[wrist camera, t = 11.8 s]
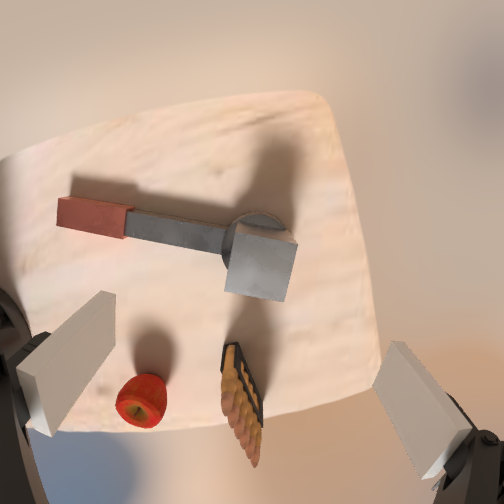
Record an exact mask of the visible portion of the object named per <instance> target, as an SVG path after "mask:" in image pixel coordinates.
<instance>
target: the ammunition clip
mask: <svg viewBox="0 0 504 504" xmlns="http://www.w3.org/2000/svg"><path fill="white" fill-rule="evenodd" d="M220 371H221V373H222V381H221V391H222V393H221V408H222V412H223V414H224V416H228V422H229V425H230V427H231V428H234V433H235V436H236V438H237V439H239V441H240V444H241V447H242V449H244V450H245V452H246V455H247V457H248V459H250V460H251V464H252V466H253V467H254V468H255V467H256V466H257V465H258V462H259V457H260V444H261V428H263V402H262V400H261V398H260V395H259V393H258V391H257V388H256V386H255V383H254V381H253V378H252V376H251V373H250V371H249V369H248V366H247V364H246V361H245V359H244V356H243V354H242V351H241V349H240V346H239V344H238V342H234V343H231V344H227V345H224V346H223V353H222V361H221V368H220Z"/></svg>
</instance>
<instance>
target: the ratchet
mask: <svg viewBox="0 0 504 504" xmlns="http://www.w3.org/2000/svg"><path fill="white" fill-rule="evenodd" d="M238 221H242V222H247V223H252V224H257V225H262V226H267V227H272V228H277V229H282V230H286V229H285V227H284V225H283V224H282V223H281V222H280V221H279V220H278V219H277V218H276V217H274V216H272V215H270V214H268V213H265V212H249V213H245V214H243V215H241V216H239V217H238V218H236V219H235V220H234V221H233V222H232V223H231V224H230V226H224V225H218V224H213V223H208V222H202V221H197V220H191V219H186V218H180V217H175V216H169V215H164V214H158V213H152V212H147V211H141V210H135V207H133V206H128V205H122V204H116V203H110V202H104V201H97V200H91V199H85V198H79V197H72V196H68V197H62V198H58V209H57V224H56V226H60V227H65V228H70V229H75V230H80V231H84V232H89V233H94V234H99V235H104V236H109V237H114V238H119V239H124V238H126V237H133V238H138V239H143V240H148V241H153V242H158V243H163V244H169V245H174V246H179V247H184V248H189V249H194V250H200V251H205V252H210V253H215V254H220V255H222V259H223V262H224V264H225V266H226V268H227V269H228V267H229V262H230V257H231V251H232V246H233V241H234V235H235V231H236V228H237V224H238Z"/></svg>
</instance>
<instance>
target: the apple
mask: <svg viewBox="0 0 504 504" xmlns="http://www.w3.org/2000/svg"><path fill="white" fill-rule="evenodd" d="M115 406H116V410H117V411H118V413H119V414H120V416H121V417H122V418H123V419H124V420H125V421H126V422H128V423H129V424H131V425H134V426H137V427H141V428H153V427H154V426H156V425H157V424H158V423H159V422H160V421H161V420H162V418H163V416H164V413H165V410H166V406H167V391H166V386H165V383H164V381H163V380H162V379H161V378H160V377H158V376H156V375H153V374H146V373H145V374H140V375H138V376H135V377H133V378H132V379H130V380H129V381H128V382H127V383H126V384H125V385H124V386H123V388H122V389H121V390H120V392H119V394H118V396H117V400H116V404H115Z"/></svg>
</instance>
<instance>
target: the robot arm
mask: <svg viewBox="0 0 504 504" xmlns="http://www.w3.org/2000/svg"><path fill="white" fill-rule="evenodd" d="M115 305H116V294H113V293H109V292H105V291H100V292H99V293H98V294H97V295H95V296H94V297H93V298H92V299H91V300H89V301H88V302H87V303H86V304H85V305H84V306H83V307H81V308H80V309H79V310H78V311H77V312H76V313H75V314H73V315H72V316H71V317H70V318H69V319H68V320H67V321H65V322H64V323H63V324H62V325H61V326H60V327H59V328H58V329H57V330H55V331H54V332H53V333H52V334H51V333H48V332H46V331H45V332H43V333H40V334H38V335H35V336H34V337H33V338H32V339H31V336H30V333H29V330H28V327H27V324H26V322H25V320H24V318H23V316H22V314H21V312H20V311H19V309H18V307H17V306H16V305H15V303H14V302H13V301H12V299H11V298H10V297H9V296H8V295H7V294H6V293H5V292H4V291H3V290H1V289H0V504H49V502H48V500H47V497H46V494H45V491H44V488H43V485H42V482H41V479H40V476H39V473H38V470H37V466H36V463H35V460H34V456H33V452H32V448H31V444H30V440H29V436H28V431H27V428H26V426H25V424H26V423H27V422H28V420H29V419H30V418H31V421H32V424H33V427H34V429H35V430H37V431H39V432H41V433H43V434H46V435H48V436H50V437H53V435H54V434H55V432H56V430H57V429H58V427H59V426H60V424H61V423H62V421H63V420H64V418H65V417H66V415H67V414H68V412H69V411H70V409H71V408H72V406H73V405H74V403H75V402H76V400H77V399H78V397H79V396H80V395H81V393H82V392H83V390H84V389H85V387H86V386H87V384H88V383H89V382H90V380H91V379H92V377H93V376H94V374H95V373H96V372H97V370H98V369H99V367H100V366H101V364H102V363H103V362H104V360H105V359H106V357H107V356H108V355H109V353H110V352H111V351H112V349H113V348H114V346H115ZM372 386H373V388H374V389H375V391H376V393H377V395H378V397H379V399H380V401H381V403H382V404H383V406H384V408H385V410H386V412H387V414H388V416H389V418H390V420H391V422H392V424H393V426H394V428H395V429H396V431H397V434H398V435H399V437H400V439H401V441H402V443H403V445H404V447H405V449H406V451H407V453H408V455H409V457H410V460H411V461H412V463H413V466H414V468H415V470H416V471H417V474H418V476H419V478H420V480H422V479H426V478H431V477H435V476H436V475H437V473H438V472H439V471H440V470H441V469H442V468H443V467H444V469H445V471H446V473H445V474H444V475H443V476H442V477H441V479H440V480H439V481H438V482H437V483H436V484H435V485H434V487H433V488H432V490H434V489H435V488H436V487H438V486H439V488H438V490H437V494H436V497H435V500H434V503H433V504H504V441H500V440H499V438H498V437H497V436H496V435H495V434H494V433H492V432H490V431H488V430H480V431H479V430H478V429H477V428H476V426H475V425H474V424H473V422H472V421H471V420H470V418H469V417H468V416H467V415H466V413H465V412H463V409H462V408H461V407H459V404H458V403H457V402H456V401H455V399H454V398H453V397H452V396H450V395H449V394H448V393H446V392H445V391H444V390H443V389H442V388H441V386H440V385H439V384H438V383H437V381H436V380H435V379H434V377H433V376H432V375H431V374H430V373H429V372H428V370H427V369H426V368H425V366H424V365H423V364H422V363H421V362H420V360H419V359H418V358H417V357H416V355H415V354H414V353H413V352H412V351H411V349H410V348H409V347H408V346H407V345H406V344H405V342H399V341H392V342H391V344H390V347H389V349H388V351H387V354H386V356H385V359H384V361H383V363H382V365H381V368H380V370H379V372H378V374H377V377H376V379H375V381H374V383H373V385H372Z"/></svg>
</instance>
